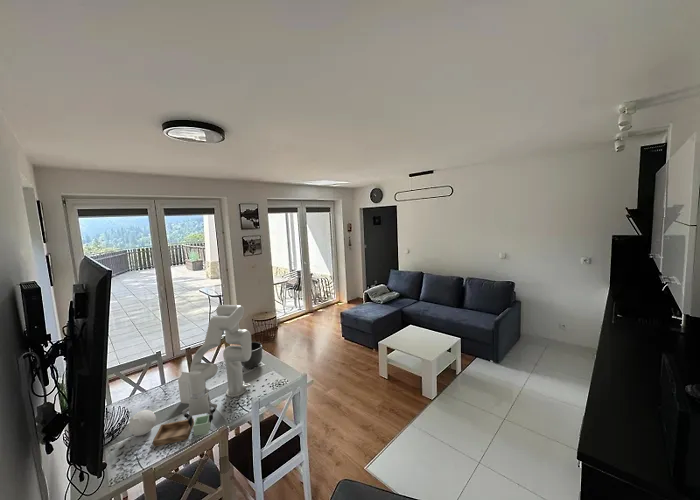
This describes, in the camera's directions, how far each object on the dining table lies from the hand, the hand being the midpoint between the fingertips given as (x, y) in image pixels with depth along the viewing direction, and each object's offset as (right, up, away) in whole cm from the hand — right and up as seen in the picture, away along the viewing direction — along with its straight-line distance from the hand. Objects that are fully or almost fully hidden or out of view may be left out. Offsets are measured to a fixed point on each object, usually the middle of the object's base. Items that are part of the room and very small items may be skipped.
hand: (201, 422), depth 156 cm
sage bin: (0, -5, +1) cm, 5 cm away
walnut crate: (-13, -6, -1) cm, 15 cm away
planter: (+5, +4, +65) cm, 66 cm away
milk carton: (-21, -2, +27) cm, 35 cm away
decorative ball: (-32, -6, +1) cm, 32 cm away
